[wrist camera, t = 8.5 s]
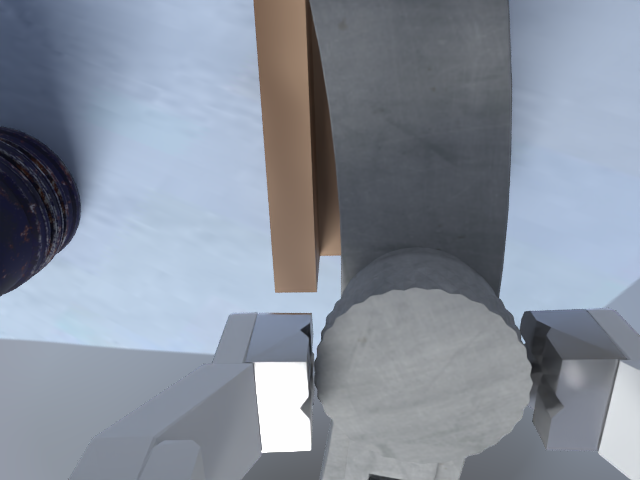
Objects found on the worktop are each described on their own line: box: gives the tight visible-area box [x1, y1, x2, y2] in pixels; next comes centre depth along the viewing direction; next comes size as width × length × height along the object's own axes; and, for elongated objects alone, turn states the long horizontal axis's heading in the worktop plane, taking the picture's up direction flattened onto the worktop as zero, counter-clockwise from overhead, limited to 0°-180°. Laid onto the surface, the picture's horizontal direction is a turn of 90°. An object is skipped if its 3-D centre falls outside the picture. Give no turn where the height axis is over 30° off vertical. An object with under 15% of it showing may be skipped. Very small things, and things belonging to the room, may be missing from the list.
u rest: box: [254, 0, 341, 293], centre depth 30 cm, size 11×18×6 cm, turn 2°
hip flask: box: [309, 0, 533, 480], centre depth 18 cm, size 16×4×20 cm, turn 0°
